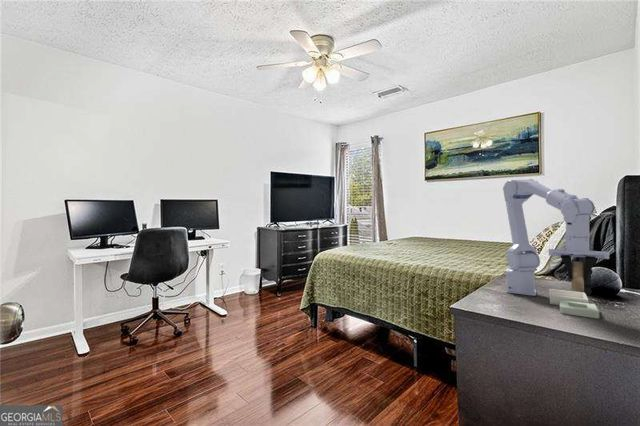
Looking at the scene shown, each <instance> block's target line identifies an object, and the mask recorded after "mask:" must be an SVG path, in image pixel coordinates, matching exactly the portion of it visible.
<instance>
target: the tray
mask: <svg viewBox="0 0 640 426" xmlns="http://www.w3.org/2000/svg"><path fill="white" fill-rule="evenodd" d="M548 289H549V290H548V297H549V304H550V305H556V306H559V300H566V301H574V302H582V303H589V298H588V296H587V294H585V293H583V292H576V291H572V290H563V289H554V288H548Z"/></svg>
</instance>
